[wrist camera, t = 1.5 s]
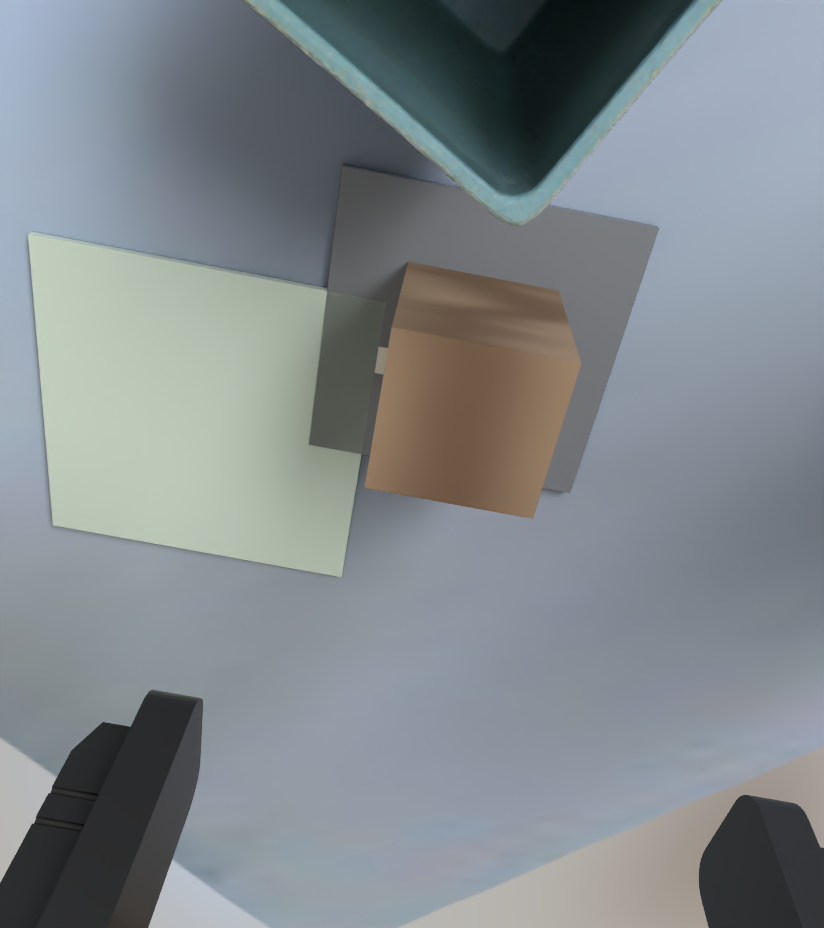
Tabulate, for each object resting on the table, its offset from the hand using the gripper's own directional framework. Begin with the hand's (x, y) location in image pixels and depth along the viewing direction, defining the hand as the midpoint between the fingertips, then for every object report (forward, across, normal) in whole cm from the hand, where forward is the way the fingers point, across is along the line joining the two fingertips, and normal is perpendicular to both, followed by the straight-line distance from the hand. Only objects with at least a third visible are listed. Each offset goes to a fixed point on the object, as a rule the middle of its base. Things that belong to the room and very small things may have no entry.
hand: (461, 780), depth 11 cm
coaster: (+18, +9, +5) cm, 20 cm away
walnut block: (+17, 0, 0) cm, 17 cm away
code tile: (+18, 0, 0) cm, 18 cm away
